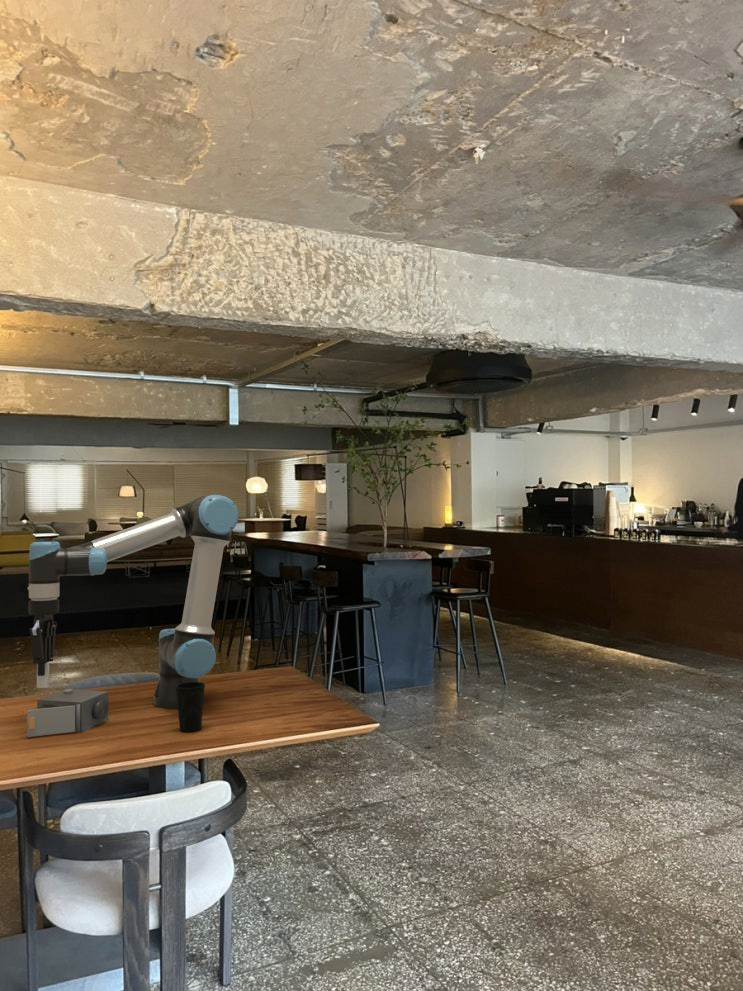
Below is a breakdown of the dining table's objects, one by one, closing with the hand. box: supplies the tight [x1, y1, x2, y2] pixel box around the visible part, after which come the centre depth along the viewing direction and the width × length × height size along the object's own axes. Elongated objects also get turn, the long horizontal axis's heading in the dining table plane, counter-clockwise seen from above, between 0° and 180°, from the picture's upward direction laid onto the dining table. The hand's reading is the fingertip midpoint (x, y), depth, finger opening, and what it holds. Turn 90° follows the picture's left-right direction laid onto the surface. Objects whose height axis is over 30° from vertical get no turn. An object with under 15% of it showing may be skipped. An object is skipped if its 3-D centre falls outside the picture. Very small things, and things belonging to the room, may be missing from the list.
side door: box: [26, 705, 76, 738], centre depth 191 cm, size 12×1×7 cm, turn 111°
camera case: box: [36, 688, 109, 733], centre depth 201 cm, size 16×13×9 cm
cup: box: [176, 681, 206, 734], centre depth 195 cm, size 8×8×12 cm
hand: (43, 687), depth 193 cm, fingers closed
